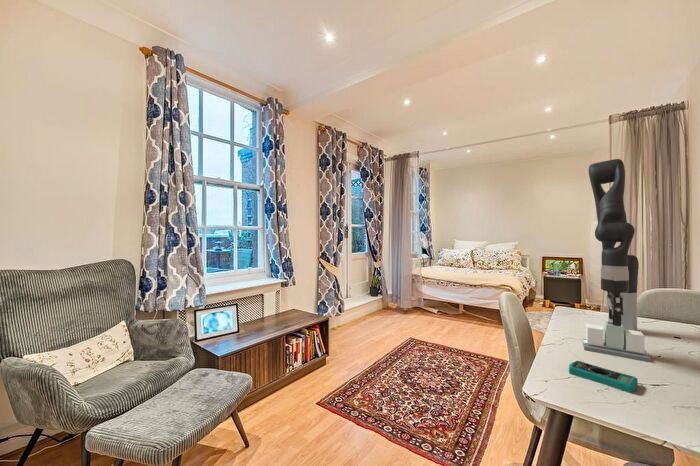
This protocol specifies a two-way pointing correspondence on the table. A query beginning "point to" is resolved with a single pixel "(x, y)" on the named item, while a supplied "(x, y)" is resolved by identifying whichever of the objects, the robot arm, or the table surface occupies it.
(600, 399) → the table surface
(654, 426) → the table surface
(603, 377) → the digital multimeter
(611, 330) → the block
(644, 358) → the rail panel
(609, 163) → the robot arm
